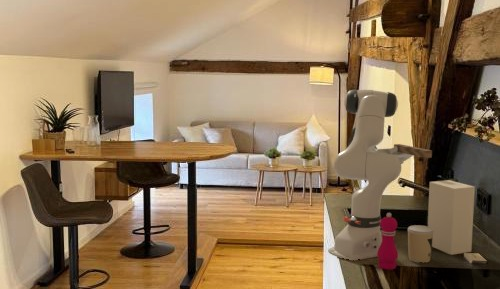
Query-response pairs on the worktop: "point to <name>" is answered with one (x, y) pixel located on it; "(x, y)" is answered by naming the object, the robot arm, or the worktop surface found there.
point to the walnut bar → (414, 151)
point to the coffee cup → (420, 243)
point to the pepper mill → (387, 243)
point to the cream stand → (451, 216)
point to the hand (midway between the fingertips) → (401, 147)
